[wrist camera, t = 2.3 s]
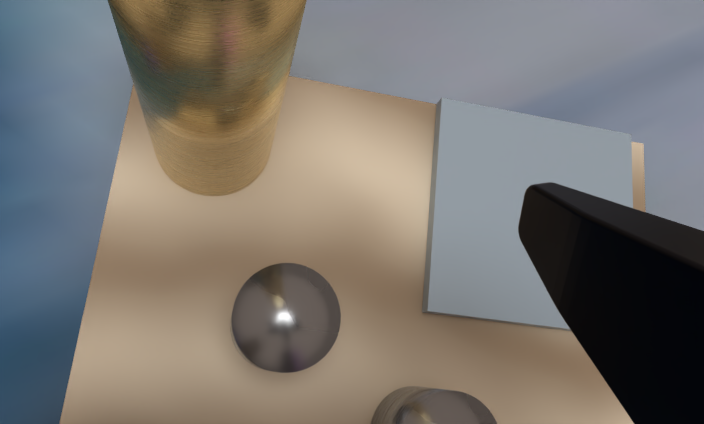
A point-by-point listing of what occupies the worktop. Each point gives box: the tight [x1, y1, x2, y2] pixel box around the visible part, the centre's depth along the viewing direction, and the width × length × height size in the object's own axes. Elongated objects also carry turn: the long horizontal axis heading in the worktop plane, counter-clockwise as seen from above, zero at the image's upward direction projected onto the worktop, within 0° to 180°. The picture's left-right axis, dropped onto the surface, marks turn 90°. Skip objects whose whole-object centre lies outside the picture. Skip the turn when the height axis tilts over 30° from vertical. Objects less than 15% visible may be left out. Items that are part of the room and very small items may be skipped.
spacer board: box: [60, 76, 645, 424], centre depth 21 cm, size 16×20×1 cm
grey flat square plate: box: [422, 98, 633, 331], centre depth 22 cm, size 8×8×1 cm
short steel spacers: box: [230, 263, 497, 424], centre depth 18 cm, size 8×18×4 cm, turn 84°
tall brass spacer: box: [108, 0, 306, 196], centre depth 15 cm, size 4×4×12 cm
